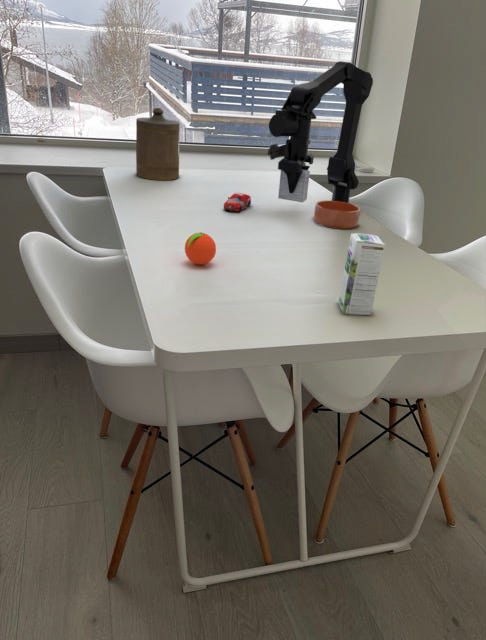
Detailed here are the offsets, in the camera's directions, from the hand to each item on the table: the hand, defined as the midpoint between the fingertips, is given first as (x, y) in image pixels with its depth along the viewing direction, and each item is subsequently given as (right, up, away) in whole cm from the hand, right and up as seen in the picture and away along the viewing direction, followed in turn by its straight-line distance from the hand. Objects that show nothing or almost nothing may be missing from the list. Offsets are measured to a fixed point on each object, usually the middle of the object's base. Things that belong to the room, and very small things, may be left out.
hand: (293, 191), depth 174 cm
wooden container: (-47, +16, +32) cm, 59 cm away
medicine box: (0, -2, +1) cm, 2 cm away
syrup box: (+10, -43, -58) cm, 73 cm away
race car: (-17, -4, +3) cm, 18 cm away
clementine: (-23, -31, -44) cm, 59 cm away
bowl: (+13, -10, -1) cm, 16 cm away
